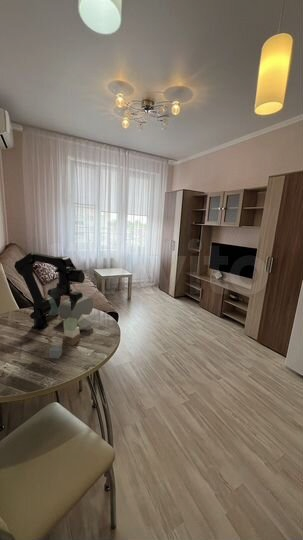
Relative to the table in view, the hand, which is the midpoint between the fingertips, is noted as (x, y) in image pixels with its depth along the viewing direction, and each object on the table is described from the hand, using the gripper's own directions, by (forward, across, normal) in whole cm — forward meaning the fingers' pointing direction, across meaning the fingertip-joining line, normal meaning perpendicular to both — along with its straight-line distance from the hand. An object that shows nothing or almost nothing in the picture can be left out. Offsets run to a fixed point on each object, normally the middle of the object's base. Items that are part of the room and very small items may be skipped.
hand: (65, 308), depth 119 cm
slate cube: (+13, +12, -20) cm, 27 cm away
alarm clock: (+13, -6, +17) cm, 22 cm away
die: (+13, +8, +7) cm, 17 cm away
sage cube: (+6, +10, -8) cm, 14 cm away
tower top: (+9, +10, -7) cm, 16 cm away
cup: (+13, -22, +14) cm, 29 cm away
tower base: (+13, +10, -8) cm, 18 cm away
